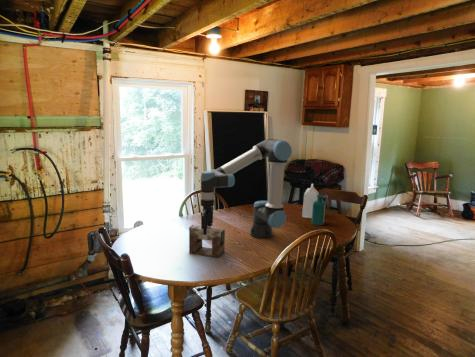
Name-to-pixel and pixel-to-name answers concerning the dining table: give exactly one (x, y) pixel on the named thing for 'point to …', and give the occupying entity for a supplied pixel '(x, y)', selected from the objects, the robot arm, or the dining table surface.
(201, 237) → the rail
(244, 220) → the dining table surface
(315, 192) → the milk
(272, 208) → the robot arm
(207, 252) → the brown u-shaped block
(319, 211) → the teal green bottle
